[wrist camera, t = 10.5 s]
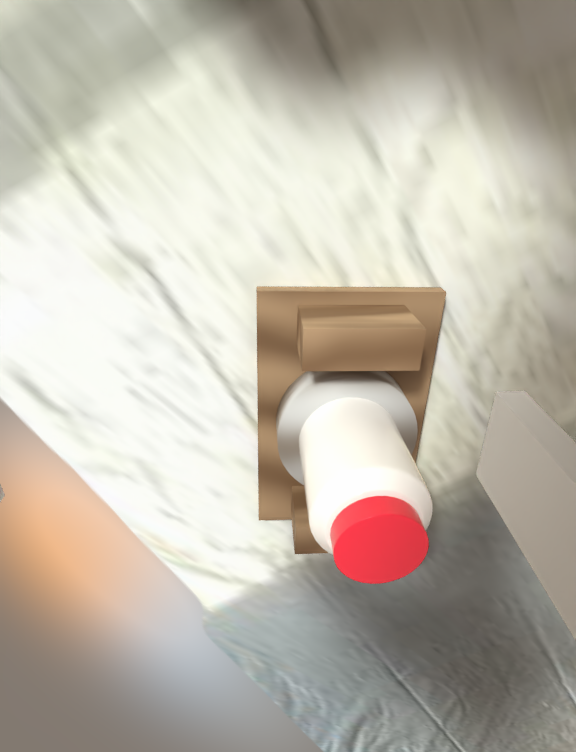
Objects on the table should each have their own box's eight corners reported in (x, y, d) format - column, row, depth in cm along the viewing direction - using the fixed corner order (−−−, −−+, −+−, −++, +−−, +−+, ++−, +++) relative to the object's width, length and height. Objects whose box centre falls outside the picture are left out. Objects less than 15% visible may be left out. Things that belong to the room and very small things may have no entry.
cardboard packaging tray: (256, 286, 34) (256, 314, 29) (440, 287, 35) (474, 314, 30) (258, 511, 44) (258, 563, 39) (402, 507, 45) (422, 558, 40)
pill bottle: (376, 380, 34) (424, 477, 24) (410, 455, 37) (465, 568, 27) (281, 422, 35) (290, 531, 25) (322, 492, 38) (345, 612, 28)
